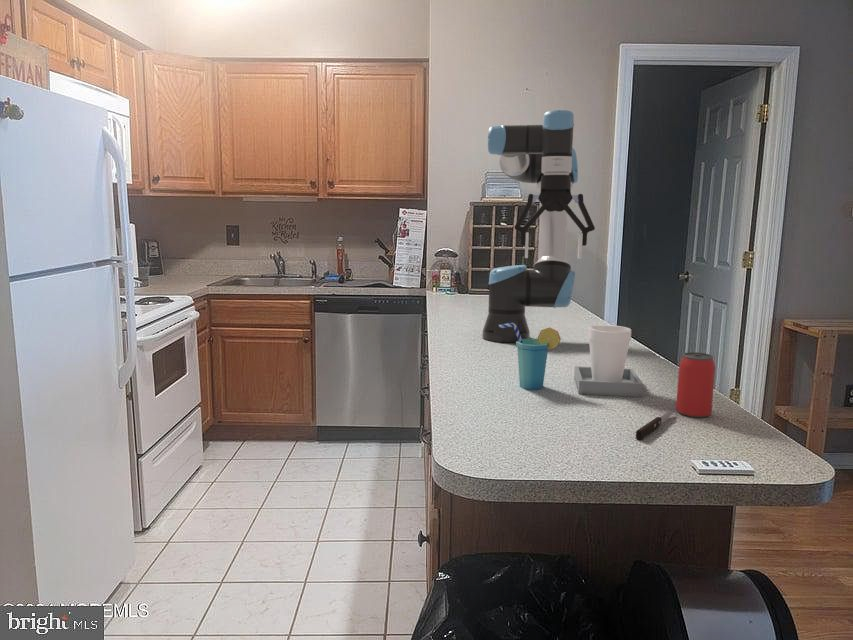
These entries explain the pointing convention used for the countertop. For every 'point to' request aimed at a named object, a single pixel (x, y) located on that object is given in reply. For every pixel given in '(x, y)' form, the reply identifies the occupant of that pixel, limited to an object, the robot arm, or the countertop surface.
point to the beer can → (695, 384)
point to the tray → (608, 384)
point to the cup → (534, 356)
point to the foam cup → (608, 351)
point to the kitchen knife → (651, 425)
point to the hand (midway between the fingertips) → (552, 258)
